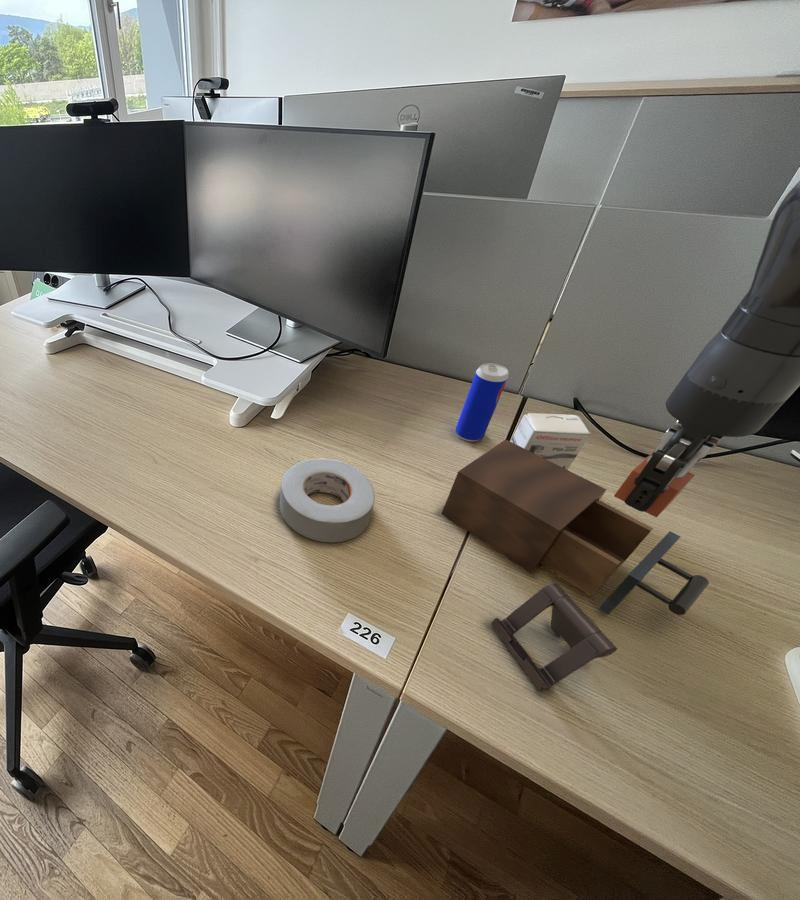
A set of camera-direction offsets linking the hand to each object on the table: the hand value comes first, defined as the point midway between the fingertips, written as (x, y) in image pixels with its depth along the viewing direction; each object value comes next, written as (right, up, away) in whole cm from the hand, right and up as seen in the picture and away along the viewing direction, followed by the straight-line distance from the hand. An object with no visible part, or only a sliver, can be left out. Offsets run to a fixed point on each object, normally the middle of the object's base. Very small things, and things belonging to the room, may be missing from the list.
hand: (644, 496), depth 57 cm
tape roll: (-34, -5, +23) cm, 41 cm away
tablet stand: (-12, -20, +2) cm, 23 cm away
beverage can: (-1, +9, +36) cm, 37 cm away
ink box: (+4, +1, +26) cm, 26 cm away
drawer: (+2, -12, +9) cm, 15 cm away
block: (0, 0, 0) cm, 0 cm away
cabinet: (-5, -6, +18) cm, 20 cm away
